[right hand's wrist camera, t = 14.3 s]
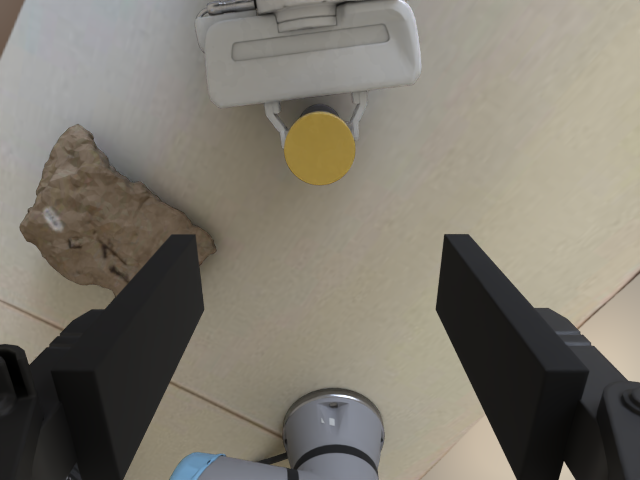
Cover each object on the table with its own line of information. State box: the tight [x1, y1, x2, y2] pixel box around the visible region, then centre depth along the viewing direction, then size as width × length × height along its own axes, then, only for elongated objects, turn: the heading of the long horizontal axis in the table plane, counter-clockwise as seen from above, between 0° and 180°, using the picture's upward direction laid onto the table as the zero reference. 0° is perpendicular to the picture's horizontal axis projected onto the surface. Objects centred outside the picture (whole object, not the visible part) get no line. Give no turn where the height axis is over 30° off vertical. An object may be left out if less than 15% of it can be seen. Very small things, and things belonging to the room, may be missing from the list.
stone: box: [20, 124, 217, 297], centre depth 51 cm, size 21×15×6 cm
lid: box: [284, 111, 355, 185], centre depth 36 cm, size 6×6×2 cm
